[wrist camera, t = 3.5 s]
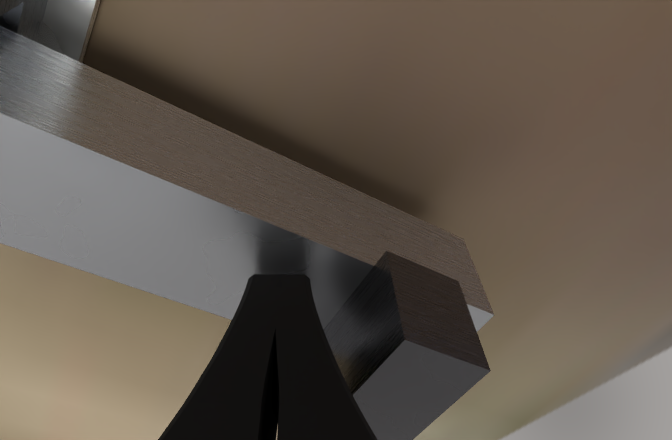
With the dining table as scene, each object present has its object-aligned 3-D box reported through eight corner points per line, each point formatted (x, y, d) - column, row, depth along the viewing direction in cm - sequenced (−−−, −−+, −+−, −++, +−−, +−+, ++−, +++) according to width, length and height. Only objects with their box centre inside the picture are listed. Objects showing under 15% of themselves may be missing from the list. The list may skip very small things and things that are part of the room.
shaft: (474, 226, 15) (547, 391, 10) (396, 314, 17) (430, 482, 12) (-422, -199, 8) (-1207, -242, 4) (-377, 21, 10) (-874, 152, 6)
